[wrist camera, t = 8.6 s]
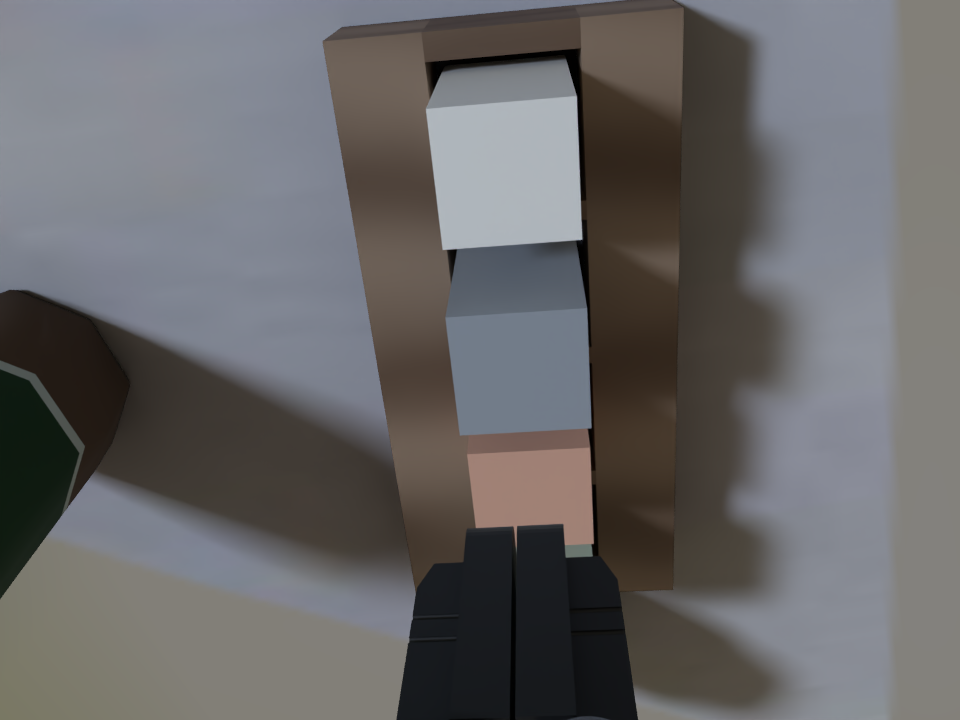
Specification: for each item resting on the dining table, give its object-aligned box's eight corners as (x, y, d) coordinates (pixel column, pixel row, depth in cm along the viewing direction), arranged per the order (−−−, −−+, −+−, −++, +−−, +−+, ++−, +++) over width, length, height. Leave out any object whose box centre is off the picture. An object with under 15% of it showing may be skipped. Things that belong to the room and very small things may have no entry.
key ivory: (444, 65, 26) (425, 108, 21) (564, 55, 26) (576, 96, 20) (457, 181, 27) (442, 250, 22) (570, 173, 27) (581, 239, 22)
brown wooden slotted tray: (341, 27, 27) (322, 41, 24) (666, -4, 26) (683, 7, 23) (424, 549, 37) (417, 599, 34) (661, 538, 36) (672, 589, 33)
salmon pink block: (476, 357, 30) (467, 454, 25) (577, 351, 30) (589, 447, 25) (485, 442, 32) (478, 549, 27) (581, 436, 32) (593, 543, 27)
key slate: (459, 235, 27) (445, 317, 22) (573, 227, 27) (587, 307, 22) (470, 337, 29) (459, 435, 24) (578, 330, 29) (591, 428, 23)
